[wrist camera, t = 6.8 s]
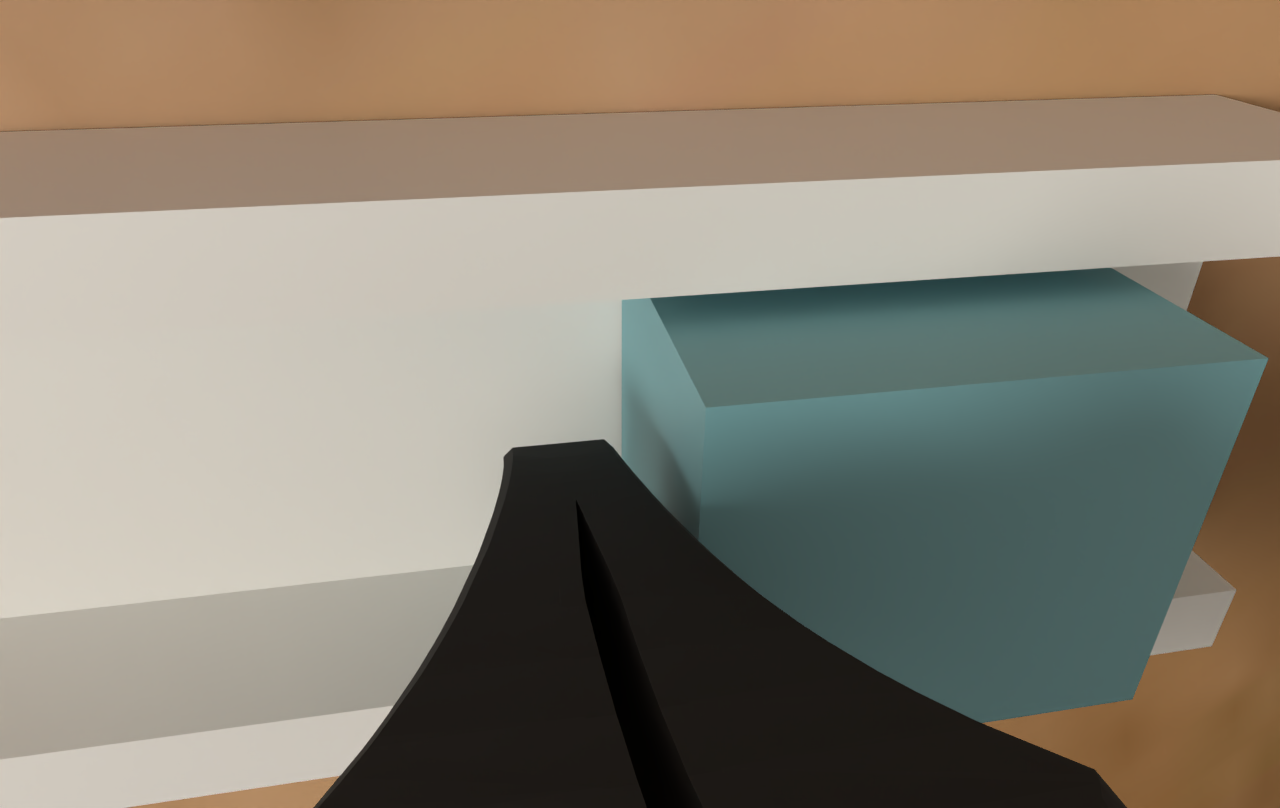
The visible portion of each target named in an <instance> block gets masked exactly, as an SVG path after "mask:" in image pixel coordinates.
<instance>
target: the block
mask: <svg viewBox="0 0 1280 808" xmlns="http://www.w3.org/2000/svg"><path fill="white" fill-rule="evenodd" d="M1268 359H1269V358H1267V357H1266V356H1264V355H1262V354H1260V353H1259V352H1257V351H1255V350H1253V349H1252V348H1250V347H1248V346H1246V345H1245V344H1243V343H1241V342H1240V341H1238V340H1236V339H1234V338H1233V337H1231V336H1229V335H1227V334H1226V333H1224V332H1222V331H1220V330H1219V329H1217V328H1215V327H1213V326H1212V325H1210V324H1208V323H1206V322H1205V321H1203V320H1201V319H1199V318H1198V317H1196V316H1194V315H1193V314H1191V313H1189V312H1187V311H1186V310H1184V309H1182V308H1180V307H1179V306H1177V305H1175V304H1173V303H1172V302H1170V301H1168V300H1166V299H1165V298H1163V297H1161V296H1159V295H1158V294H1156V293H1154V292H1152V291H1151V290H1149V289H1147V288H1145V287H1144V286H1142V285H1140V284H1139V283H1137V282H1135V281H1133V280H1132V279H1130V278H1128V277H1126V276H1125V275H1123V274H1121V273H1119V272H1118V271H1116V270H1114V269H1112V268H1096V269H1081V270H1066V271H1051V272H1036V273H1021V274H1006V275H990V276H975V277H960V278H945V279H930V280H915V281H900V282H885V283H869V284H854V285H839V286H824V287H809V288H794V289H779V290H764V291H749V292H733V293H718V294H703V295H688V296H673V297H658V298H643V299H628V300H622V459H623V460H624V461H625V463H626V464H627V465H628V466H629V467H630V469H631V470H632V471H633V472H634V473H635V475H636V476H637V477H638V478H639V479H640V480H641V481H642V483H643V484H644V485H645V486H646V487H647V488H648V489H649V490H650V492H651V493H652V494H653V495H654V496H655V497H656V498H657V499H658V500H659V501H660V502H661V503H662V505H663V506H664V507H665V508H666V509H667V510H668V511H669V512H670V513H671V514H672V515H673V516H674V517H675V518H676V519H677V520H678V521H679V522H680V523H681V524H682V525H683V526H684V527H685V528H686V529H687V530H688V531H689V532H690V533H691V534H692V535H693V536H694V537H695V538H696V539H697V540H698V541H699V542H700V543H702V544H703V545H704V546H705V547H706V548H707V549H708V550H709V551H710V552H711V553H712V554H713V555H714V556H716V557H717V558H718V559H719V560H720V561H721V562H722V563H724V564H725V565H726V566H727V567H728V568H729V569H730V570H732V571H733V572H734V573H735V574H736V575H737V576H739V577H740V578H741V579H742V580H743V581H745V582H746V583H747V584H748V585H749V586H751V587H752V588H753V589H754V590H756V591H757V592H758V593H759V594H761V595H762V596H763V597H765V598H766V599H767V600H769V601H770V602H771V603H773V604H774V605H776V606H777V607H778V608H780V609H781V610H783V611H784V612H785V613H787V614H788V615H790V616H791V617H792V618H794V619H795V620H796V621H798V622H799V623H801V624H802V625H804V626H805V627H807V628H808V629H810V630H811V631H813V632H814V633H816V634H817V635H819V636H821V637H822V638H824V639H825V640H827V641H828V642H830V643H832V644H833V645H835V646H837V647H838V648H840V649H842V650H843V651H845V652H847V653H848V654H850V655H852V656H853V657H855V658H857V659H858V660H860V661H862V662H863V663H865V664H867V665H869V666H870V667H872V668H874V669H875V670H877V671H879V672H881V673H882V674H884V675H886V676H888V677H890V678H892V679H894V680H895V681H897V682H899V683H901V684H903V685H905V686H907V687H909V688H910V689H912V690H914V691H916V692H918V693H920V694H922V695H924V696H926V697H928V698H930V699H932V700H934V701H937V702H939V703H941V704H943V705H945V706H947V707H949V708H951V709H953V710H955V711H957V712H959V713H961V714H963V715H965V716H967V717H969V718H971V719H974V720H976V721H978V722H980V723H984V722H991V721H997V720H1004V719H1010V718H1016V717H1023V716H1029V715H1035V714H1042V713H1048V712H1054V711H1061V710H1067V709H1074V708H1080V707H1086V706H1093V705H1099V704H1105V703H1112V702H1118V701H1124V700H1131V699H1133V696H1134V694H1135V691H1136V689H1137V686H1138V684H1139V681H1140V679H1141V676H1142V674H1143V671H1144V669H1145V666H1146V664H1147V661H1148V659H1149V656H1150V654H1151V651H1152V649H1153V646H1154V644H1155V641H1156V639H1157V636H1158V634H1159V631H1160V629H1161V626H1162V624H1163V621H1164V619H1165V616H1166V614H1167V611H1168V609H1169V606H1170V604H1171V601H1172V599H1173V596H1174V594H1175V591H1176V589H1177V586H1178V584H1179V581H1180V579H1181V576H1182V574H1183V571H1184V569H1185V566H1186V564H1187V561H1188V559H1189V556H1190V554H1191V551H1192V549H1193V546H1194V544H1195V541H1196V539H1197V536H1198V534H1199V531H1200V529H1201V526H1202V524H1203V521H1204V519H1205V516H1206V514H1207V511H1208V509H1209V506H1210V504H1211V501H1212V499H1213V496H1214V494H1215V491H1216V489H1217V486H1218V484H1219V481H1220V479H1221V476H1222V474H1223V471H1224V469H1225V466H1226V464H1227V461H1228V459H1229V456H1230V454H1231V451H1232V449H1233V446H1234V444H1235V441H1236V439H1237V436H1238V434H1239V431H1240V429H1241V426H1242V424H1243V421H1244V419H1245V416H1246V414H1247V411H1248V409H1249V406H1250V404H1251V401H1252V399H1253V396H1254V394H1255V391H1256V389H1257V386H1258V384H1259V381H1260V379H1261V376H1262V374H1263V371H1264V369H1265V366H1266V364H1267V361H1268Z"/></svg>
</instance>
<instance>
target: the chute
mask: <svg viewBox="0 0 1280 808" xmlns="http://www.w3.org/2000/svg"><path fill="white" fill-rule="evenodd" d="M1278 256H1280V112H1277V111H1274V110H1270V109H1266V108H1263V107H1259V106H1255V105H1252V104H1248V103H1244V102H1241V101H1237V100H1234V99H1230V98H1226V97H1223V96H1219V95H1186V96H1153V97H1121V98H1088V99H1055V100H1023V101H990V102H957V103H925V104H892V105H859V106H827V107H794V108H761V109H729V110H696V111H663V112H631V113H598V114H565V115H533V116H500V117H467V118H435V119H402V120H369V121H337V122H304V123H271V124H239V125H206V126H173V127H141V128H108V129H75V130H43V131H10V132H0V808H126V807H132V806H139V805H146V804H153V803H159V802H166V801H173V800H180V799H186V798H193V797H200V796H207V795H213V794H220V793H227V792H233V791H240V790H247V789H254V788H260V787H267V786H274V785H281V784H287V783H294V782H301V781H307V780H314V779H321V778H328V777H334V776H340V775H341V774H342V773H343V772H344V771H345V769H346V768H347V767H348V766H349V765H350V763H351V762H352V761H353V760H354V758H355V757H356V756H357V755H358V754H359V752H360V751H361V750H362V749H363V747H364V746H365V745H366V744H367V742H368V741H369V740H370V738H371V737H372V736H373V734H374V733H375V732H376V730H377V729H378V727H379V726H380V725H381V723H382V722H383V721H384V719H385V718H386V716H387V715H388V713H389V712H390V711H391V709H392V708H393V706H394V705H395V703H396V702H397V700H398V699H399V697H400V696H401V694H402V693H403V691H404V690H405V689H406V687H407V686H408V684H409V683H410V681H411V680H412V678H413V677H414V675H415V674H416V672H417V670H418V669H419V667H420V666H421V664H422V662H423V661H424V659H425V657H426V656H427V654H428V652H429V651H430V649H431V647H432V646H433V644H434V642H435V641H436V639H437V637H438V635H439V634H440V632H441V630H442V628H443V626H444V624H445V623H446V621H447V619H448V617H449V615H450V613H451V611H452V609H453V607H454V606H455V603H456V601H457V599H458V597H459V595H460V593H461V591H462V588H463V586H464V584H465V582H466V580H467V578H468V576H469V573H470V571H471V569H472V567H473V565H474V563H475V560H476V558H477V556H478V553H479V551H480V548H481V545H482V542H483V540H484V537H485V534H486V532H487V529H488V526H489V523H490V521H491V518H492V515H493V512H494V508H495V505H496V501H497V498H498V494H499V490H500V486H501V481H502V475H503V467H504V461H503V457H504V456H505V455H506V454H507V453H508V452H509V451H510V450H511V449H512V448H513V447H524V446H535V445H546V444H557V443H567V442H578V441H589V440H600V439H604V440H606V441H607V442H608V443H609V444H610V445H611V446H612V447H613V448H614V449H615V450H616V451H617V453H618V454H619V455H620V457H621V458H622V300H628V299H643V298H658V297H673V296H688V295H703V294H718V293H733V292H749V291H764V290H779V289H794V288H809V287H824V286H839V285H854V284H869V283H885V282H900V281H915V280H930V279H945V278H960V277H975V276H990V275H1006V274H1021V273H1036V272H1051V271H1066V270H1081V269H1096V268H1112V269H1114V270H1116V271H1118V272H1119V273H1121V274H1123V275H1125V276H1126V277H1128V278H1130V279H1132V280H1133V281H1135V282H1137V283H1139V284H1140V285H1142V286H1144V287H1145V288H1147V289H1149V290H1151V291H1152V292H1154V293H1156V294H1158V295H1159V296H1161V297H1163V298H1165V299H1166V300H1168V301H1170V302H1172V303H1173V304H1175V305H1177V306H1179V307H1180V308H1182V309H1184V310H1186V311H1187V308H1188V305H1189V302H1190V299H1191V296H1192V293H1193V290H1194V287H1195V284H1196V281H1197V278H1198V275H1199V272H1200V269H1201V266H1202V264H1203V261H1217V260H1232V259H1247V258H1262V257H1278ZM1235 592H1236V589H1235V588H1234V587H1233V586H1232V585H1230V584H1229V583H1228V582H1227V581H1226V580H1225V579H1224V578H1223V577H1221V576H1220V575H1219V574H1218V573H1217V572H1216V571H1215V570H1214V569H1212V568H1211V567H1210V566H1209V565H1208V564H1207V563H1206V562H1205V561H1203V560H1202V559H1201V558H1200V557H1199V556H1198V555H1197V554H1196V553H1194V552H1193V551H1191V554H1190V556H1189V559H1188V561H1187V564H1186V566H1185V569H1184V571H1183V574H1182V576H1181V579H1180V581H1179V584H1178V586H1177V589H1176V591H1175V594H1174V596H1173V599H1172V601H1171V604H1170V606H1169V609H1168V611H1167V614H1166V616H1165V619H1164V621H1163V624H1162V626H1161V629H1160V631H1159V634H1158V636H1157V639H1156V641H1155V644H1154V646H1153V649H1152V651H1151V654H1150V655H1155V654H1162V653H1169V652H1176V651H1182V650H1189V649H1196V648H1203V647H1209V646H1212V644H1213V642H1214V640H1215V637H1216V635H1217V633H1218V631H1219V628H1220V626H1221V624H1222V622H1223V619H1224V617H1225V615H1226V613H1227V610H1228V608H1229V606H1230V604H1231V601H1232V599H1233V597H1234V594H1235Z"/></svg>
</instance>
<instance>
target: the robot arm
mask: <svg viewBox="0 0 1280 808" xmlns="http://www.w3.org/2000/svg"><path fill="white" fill-rule="evenodd" d="M503 461H504V467H503V475H502V481H501V486H500V490H499V494H498V498H497V501H496V505H495V508H494V512H493V515H492V518H491V521H490V523H489V526H488V529H487V532H486V534H485V537H484V540H483V542H482V545H481V548H480V551H479V553H478V556H477V558H476V560H475V563H474V565H473V567H472V569H471V571H470V573H469V576H468V578H467V580H466V582H465V584H464V586H463V588H462V591H461V593H460V595H459V597H458V599H457V601H456V603H455V606H454V607H453V609H452V611H451V613H450V615H449V617H448V619H447V621H446V623H445V624H444V626H443V628H442V630H441V632H440V634H439V635H438V637H437V639H436V641H435V642H434V644H433V646H432V647H431V649H430V651H429V652H428V654H427V656H426V657H425V659H424V661H423V662H422V664H421V666H420V667H419V669H418V670H417V672H416V674H415V675H414V677H413V678H412V680H411V681H410V683H409V684H408V686H407V687H406V689H405V690H404V691H403V693H402V694H401V696H400V697H399V699H398V700H397V702H396V703H395V705H394V706H393V708H392V709H391V711H390V712H389V713H388V715H387V716H386V718H385V719H384V721H383V722H382V723H381V725H380V726H379V727H378V729H377V730H376V732H375V733H374V734H373V736H372V737H371V738H370V740H369V741H368V742H367V744H366V745H365V746H364V747H363V749H362V750H361V751H360V752H359V754H358V755H357V756H356V757H355V758H354V760H353V761H352V762H351V763H350V765H349V766H348V767H347V768H346V769H345V771H344V772H343V773H342V774H341V775H340V777H339V778H338V779H337V780H336V781H335V783H334V784H333V785H332V786H331V787H330V789H329V790H328V791H327V792H326V793H325V795H324V796H323V797H322V798H321V799H320V801H319V802H318V803H317V804H316V806H315V807H314V808H1127V807H1126V806H1125V805H1124V804H1123V803H1122V801H1121V800H1120V799H1119V798H1118V797H1117V795H1116V794H1115V793H1114V792H1113V791H1112V790H1111V788H1110V787H1109V786H1108V785H1107V784H1106V782H1105V781H1104V780H1103V779H1102V778H1101V777H1100V775H1099V774H1098V773H1097V772H1096V771H1095V770H1094V769H1092V768H1089V767H1087V766H1085V765H1082V764H1080V763H1077V762H1075V761H1072V760H1070V759H1067V758H1065V757H1063V756H1060V755H1058V754H1055V753H1053V752H1050V751H1048V750H1045V749H1043V748H1040V747H1038V746H1036V745H1033V744H1031V743H1028V742H1026V741H1023V740H1021V739H1018V738H1016V737H1014V736H1011V735H1009V734H1006V733H1004V732H1001V731H999V730H996V729H994V728H992V727H989V726H987V725H985V724H982V723H980V722H978V721H976V720H974V719H971V718H969V717H967V716H965V715H963V714H961V713H959V712H957V711H955V710H953V709H951V708H949V707H947V706H945V705H943V704H941V703H939V702H937V701H934V700H932V699H930V698H928V697H926V696H924V695H922V694H920V693H918V692H916V691H914V690H912V689H910V688H909V687H907V686H905V685H903V684H901V683H899V682H897V681H895V680H894V679H892V678H890V677H888V676H886V675H884V674H882V673H881V672H879V671H877V670H875V669H874V668H872V667H870V666H869V665H867V664H865V663H863V662H862V661H860V660H858V659H857V658H855V657H853V656H852V655H850V654H848V653H847V652H845V651H843V650H842V649H840V648H838V647H837V646H835V645H833V644H832V643H830V642H828V641H827V640H825V639H824V638H822V637H821V636H819V635H817V634H816V633H814V632H813V631H811V630H810V629H808V628H807V627H805V626H804V625H802V624H801V623H799V622H798V621H796V620H795V619H794V618H792V617H791V616H790V615H788V614H787V613H785V612H784V611H783V610H781V609H780V608H778V607H777V606H776V605H774V604H773V603H771V602H770V601H769V600H767V599H766V598H765V597H763V596H762V595H761V594H759V593H758V592H757V591H756V590H754V589H753V588H752V587H751V586H749V585H748V584H747V583H746V582H745V581H743V580H742V579H741V578H740V577H739V576H737V575H736V574H735V573H734V572H733V571H732V570H730V569H729V568H728V567H727V566H726V565H725V564H724V563H722V562H721V561H720V560H719V559H718V558H717V557H716V556H714V555H713V554H712V553H711V552H710V551H709V550H708V549H707V548H706V547H705V546H704V545H703V544H702V543H700V542H699V541H698V540H697V539H696V538H695V537H694V536H693V535H692V534H691V533H690V532H689V531H688V530H687V529H686V528H685V527H684V526H683V525H682V524H681V523H680V522H679V521H678V520H677V519H676V518H675V517H674V516H673V515H672V514H671V513H670V512H669V511H668V510H667V509H666V508H665V507H664V506H663V505H662V503H661V502H660V501H659V500H658V499H657V498H656V497H655V496H654V495H653V494H652V493H651V492H650V490H649V489H648V488H647V487H646V486H645V485H644V484H643V483H642V481H641V480H640V479H639V478H638V477H637V476H636V475H635V473H634V472H633V471H632V470H631V469H630V467H629V466H628V465H627V464H626V463H625V461H624V460H623V459H622V458H621V457H620V455H619V454H618V453H617V451H616V450H615V449H614V448H613V447H612V446H611V445H610V444H609V443H608V442H607V441H606V440H604V439H600V440H589V441H578V442H567V443H557V444H546V445H535V446H524V447H513V448H512V449H511V450H510V451H509V452H508V453H507V454H506V455H505V456H504V457H503Z"/></svg>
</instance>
